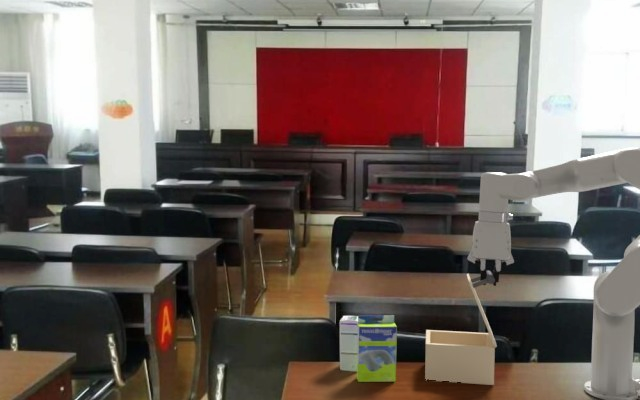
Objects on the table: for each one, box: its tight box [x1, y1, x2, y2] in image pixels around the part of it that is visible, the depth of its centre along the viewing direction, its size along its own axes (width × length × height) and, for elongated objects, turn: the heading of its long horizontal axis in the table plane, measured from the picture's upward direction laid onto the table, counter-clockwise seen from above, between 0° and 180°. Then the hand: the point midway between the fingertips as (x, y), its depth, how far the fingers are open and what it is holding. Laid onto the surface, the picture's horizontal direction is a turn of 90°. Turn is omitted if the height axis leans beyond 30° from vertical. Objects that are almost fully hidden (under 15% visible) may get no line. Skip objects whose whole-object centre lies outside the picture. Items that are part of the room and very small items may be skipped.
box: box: [356, 314, 398, 383], centre depth 167 cm, size 10×4×17 cm, turn 93°
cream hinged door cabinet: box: [424, 329, 496, 386], centre depth 172 cm, size 18×14×10 cm
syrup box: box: [339, 315, 359, 372], centre depth 176 cm, size 6×6×14 cm
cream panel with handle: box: [466, 270, 498, 348], centre depth 169 cm, size 18×14×7 cm
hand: (489, 284), depth 169 cm, fingers closed on cream panel with handle, 2 cm apart
